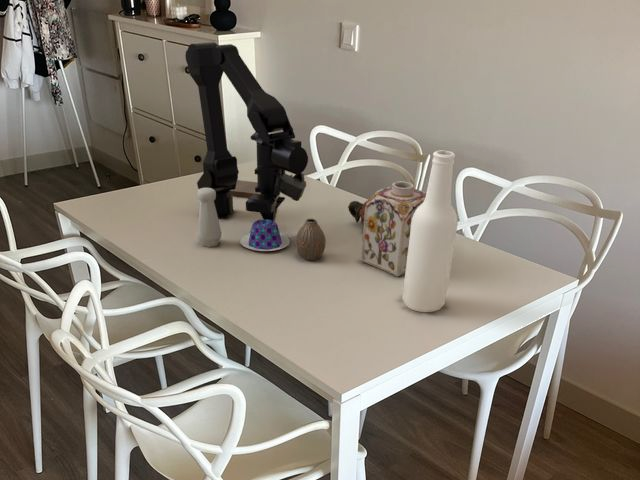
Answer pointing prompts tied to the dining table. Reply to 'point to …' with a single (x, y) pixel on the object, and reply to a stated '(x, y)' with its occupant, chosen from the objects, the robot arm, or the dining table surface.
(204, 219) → the salt shaker
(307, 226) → the vase
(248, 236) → the pudding
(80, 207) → the dining table surface
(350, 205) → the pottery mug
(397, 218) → the decorative jar
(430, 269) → the alcohol
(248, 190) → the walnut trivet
